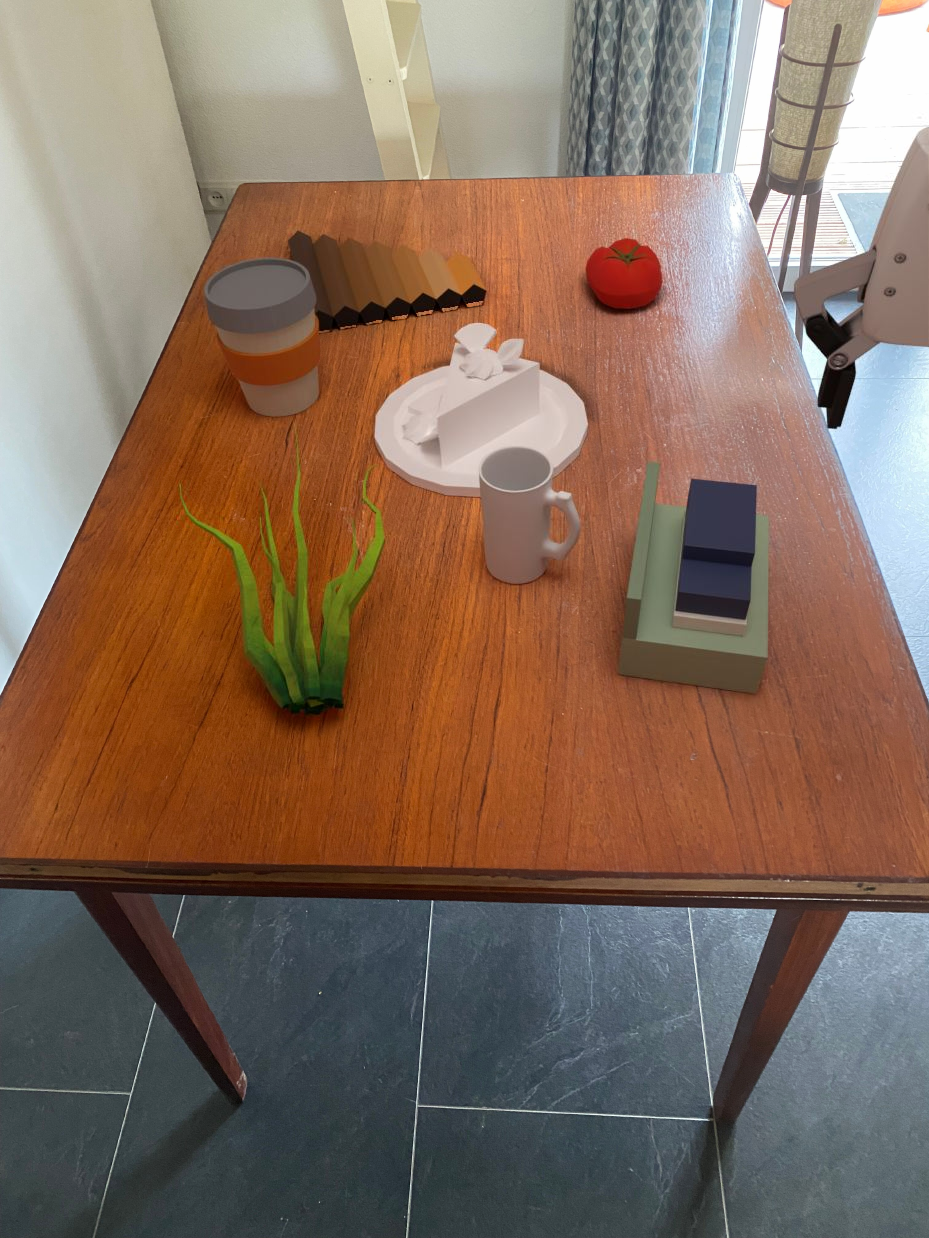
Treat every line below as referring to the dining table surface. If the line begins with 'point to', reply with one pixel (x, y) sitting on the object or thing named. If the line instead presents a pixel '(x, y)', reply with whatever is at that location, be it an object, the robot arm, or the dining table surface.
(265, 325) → the reusable coffee cup
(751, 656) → the sage stepped base
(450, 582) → the dining table surface
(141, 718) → the dining table surface
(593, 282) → the tomato
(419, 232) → the dining table surface
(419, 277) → the pan flute
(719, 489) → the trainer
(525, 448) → the mug
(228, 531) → the dining table surface
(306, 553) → the decorative plant
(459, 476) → the dish
